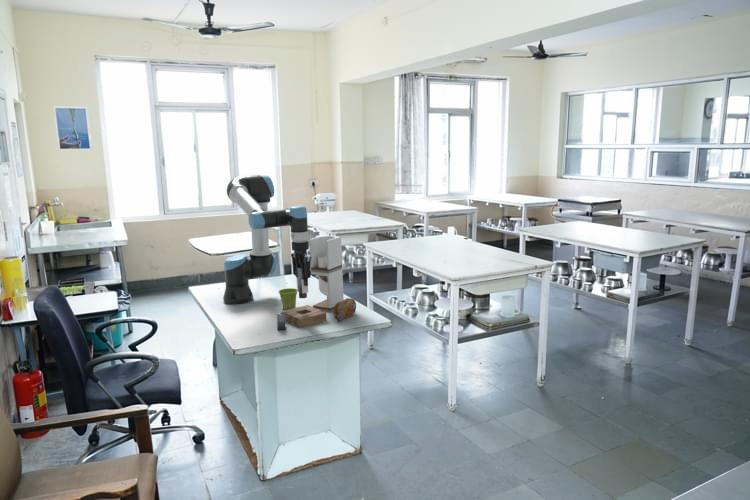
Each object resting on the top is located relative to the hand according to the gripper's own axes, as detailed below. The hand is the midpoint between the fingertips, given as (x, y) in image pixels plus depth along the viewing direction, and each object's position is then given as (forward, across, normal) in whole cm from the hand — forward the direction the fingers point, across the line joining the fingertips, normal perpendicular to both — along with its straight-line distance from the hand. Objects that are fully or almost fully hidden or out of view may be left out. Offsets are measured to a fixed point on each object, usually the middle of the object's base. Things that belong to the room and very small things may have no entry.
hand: (302, 291), depth 240 cm
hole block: (+14, 0, 0) cm, 14 cm away
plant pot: (+14, -22, +5) cm, 27 cm away
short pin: (+14, +4, -14) cm, 20 cm away
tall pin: (+3, 0, 0) cm, 3 cm away
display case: (+14, -8, +19) cm, 25 cm away
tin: (+14, +10, +16) cm, 23 cm away
